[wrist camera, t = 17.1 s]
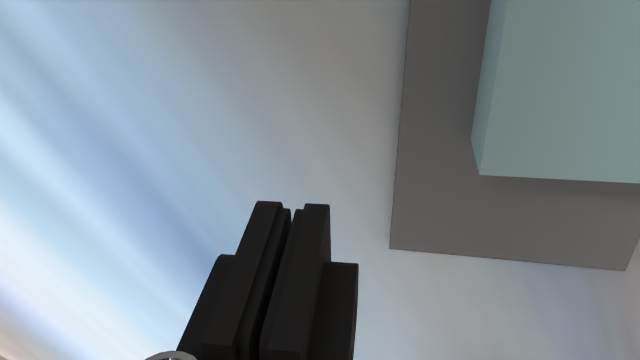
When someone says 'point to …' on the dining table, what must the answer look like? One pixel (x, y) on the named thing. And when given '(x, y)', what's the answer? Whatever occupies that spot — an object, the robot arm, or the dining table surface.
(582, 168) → the slab
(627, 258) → the mat
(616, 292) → the dining table surface
